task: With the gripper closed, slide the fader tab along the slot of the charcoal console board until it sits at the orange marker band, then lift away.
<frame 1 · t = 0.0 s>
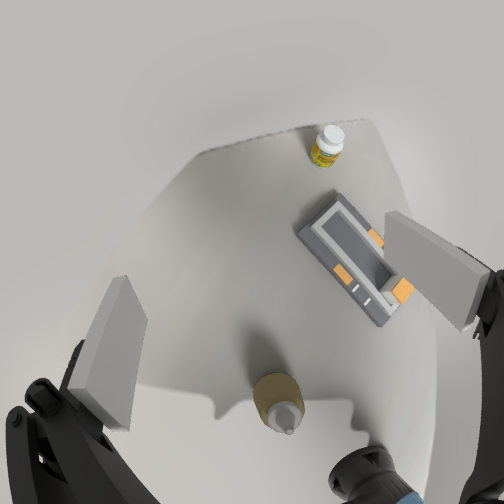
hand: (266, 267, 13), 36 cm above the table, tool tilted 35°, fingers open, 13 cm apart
squeeze bottle: (274, 387, 45), on the table
fader tab: (396, 289, 44), point 5 cm above the table, slide at 0.0 cm
console board: (359, 261, 49), on the table
supplement bottle: (321, 158, 53), on the table
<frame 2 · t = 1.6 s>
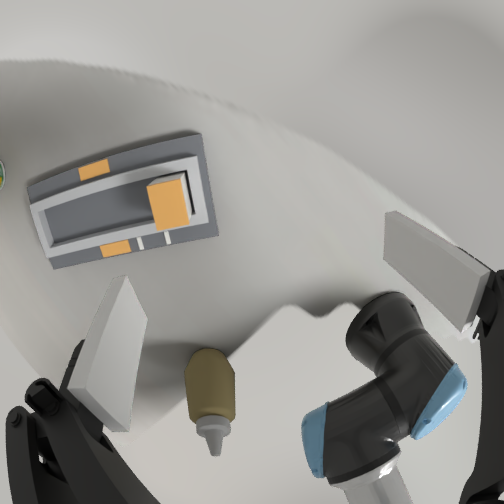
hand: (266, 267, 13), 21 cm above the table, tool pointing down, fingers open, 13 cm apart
squeeze bottle: (208, 358, 43), on the table
fader tab: (171, 199, 26), point 5 cm above the table, slide at 0.0 cm
console board: (116, 203, 30), on the table
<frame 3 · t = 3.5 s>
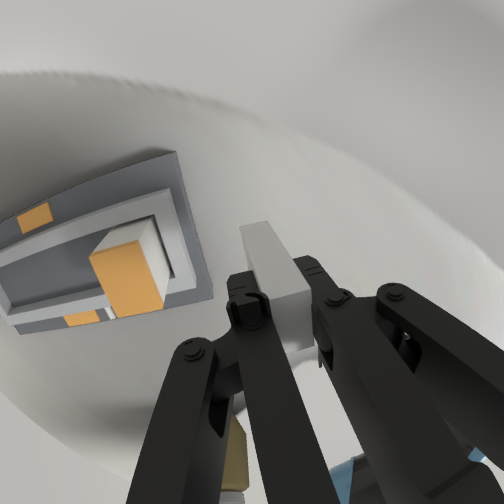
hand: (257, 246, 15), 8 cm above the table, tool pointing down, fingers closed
squeeze bottle: (214, 416, 34), on the table
fader tab: (135, 263, 17), point 5 cm above the table, slide at 0.0 cm
console board: (73, 258, 21), on the table
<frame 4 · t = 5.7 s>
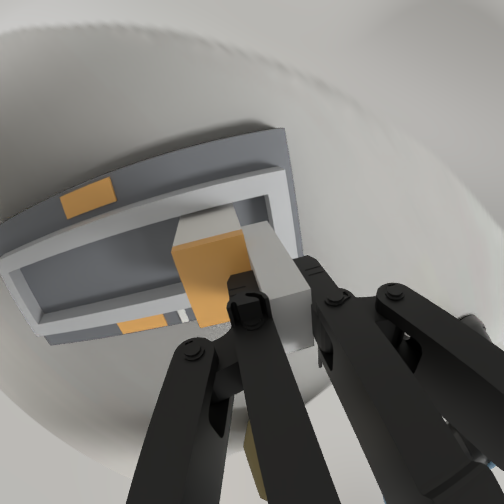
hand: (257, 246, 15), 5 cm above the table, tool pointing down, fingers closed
squeeze bottle: (268, 418, 32), on the table
fader tab: (216, 259, 15), point 5 cm above the table, slide at 1.7 cm, touching gripper
console board: (132, 249, 19), on the table
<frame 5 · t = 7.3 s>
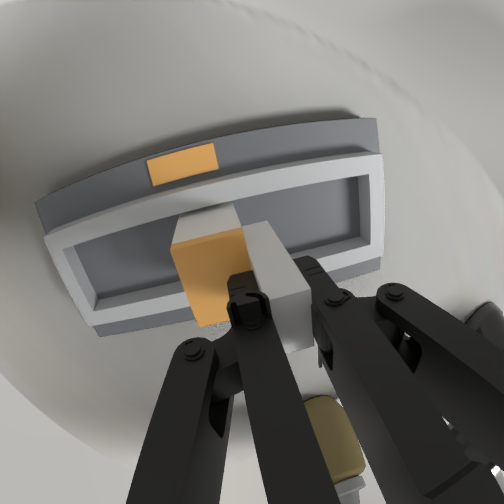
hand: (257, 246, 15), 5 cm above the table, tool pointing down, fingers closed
squeeze bottle: (313, 405, 32), on the table
fader tab: (215, 257, 15), point 5 cm above the table, slide at 8.3 cm, touching gripper
console board: (216, 225, 19), on the table
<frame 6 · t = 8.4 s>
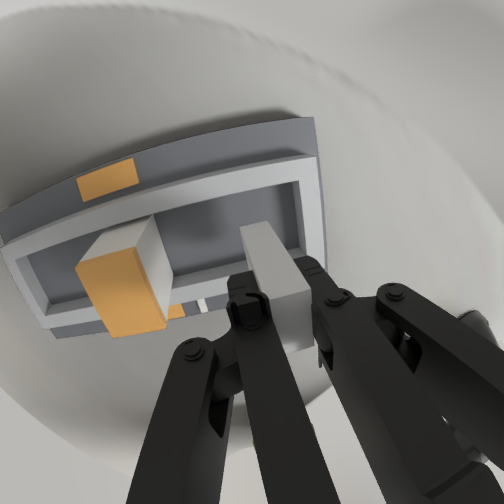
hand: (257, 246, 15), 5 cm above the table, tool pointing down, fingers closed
fader tab: (131, 272, 14), point 5 cm above the table, slide at 8.3 cm
console board: (150, 236, 18), on the table
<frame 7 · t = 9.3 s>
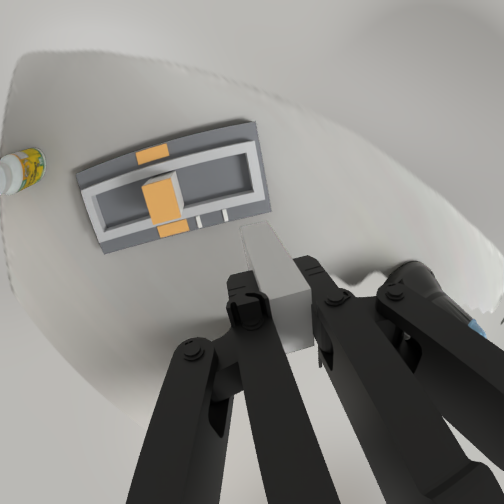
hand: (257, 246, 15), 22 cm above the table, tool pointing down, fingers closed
fader tab: (164, 196, 29), point 5 cm above the table, slide at 8.3 cm
console board: (171, 186, 34), on the table
supplement bottle: (34, 165, 28), on the table
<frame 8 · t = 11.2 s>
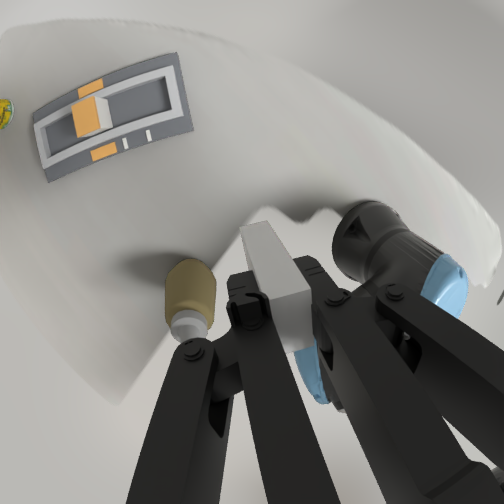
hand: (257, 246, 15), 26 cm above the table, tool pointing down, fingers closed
squeeze bottle: (191, 273, 45), on the table
fader tab: (92, 117, 27), point 5 cm above the table, slide at 8.3 cm
console board: (107, 117, 31), on the table
supplement bottle: (5, 114, 26), on the table
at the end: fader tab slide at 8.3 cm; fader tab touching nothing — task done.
